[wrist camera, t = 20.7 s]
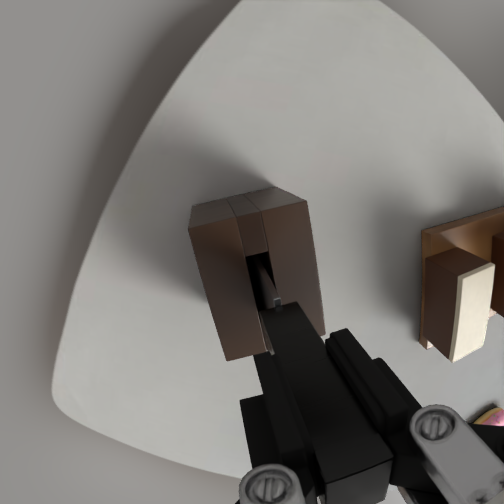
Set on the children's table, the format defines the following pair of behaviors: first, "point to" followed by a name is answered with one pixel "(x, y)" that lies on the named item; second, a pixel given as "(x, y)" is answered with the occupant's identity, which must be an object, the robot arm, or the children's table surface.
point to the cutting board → (461, 244)
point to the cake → (498, 273)
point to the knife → (325, 404)
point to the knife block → (270, 254)
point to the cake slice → (457, 301)
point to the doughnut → (492, 417)
